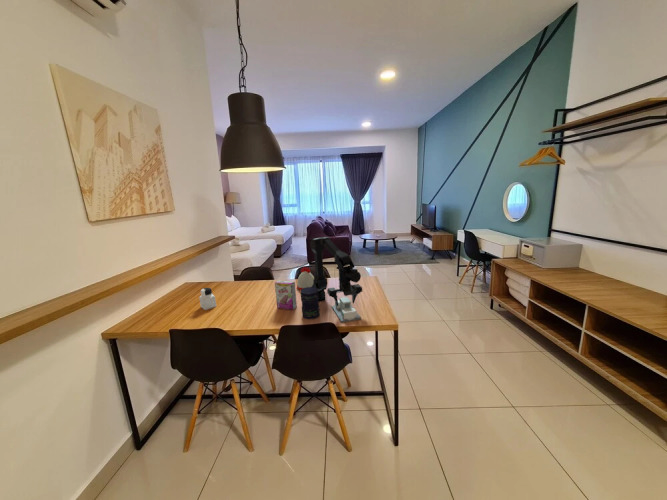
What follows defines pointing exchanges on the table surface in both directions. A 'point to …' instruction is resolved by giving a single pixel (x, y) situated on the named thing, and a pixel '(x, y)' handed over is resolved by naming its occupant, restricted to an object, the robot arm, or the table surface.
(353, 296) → the robot arm
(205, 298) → the medicine bottle
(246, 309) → the table surface
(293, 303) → the candy bar box
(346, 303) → the block
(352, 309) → the board
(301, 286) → the kitchen timer
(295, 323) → the table surface
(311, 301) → the storage jar
